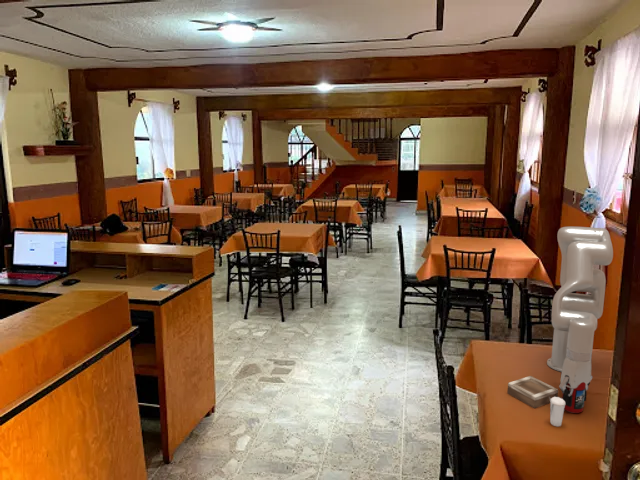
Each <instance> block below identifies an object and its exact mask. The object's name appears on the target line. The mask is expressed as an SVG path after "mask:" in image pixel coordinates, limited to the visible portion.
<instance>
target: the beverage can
mask: <svg viewBox="0 0 640 480" xmlns="http://www.w3.org/2000/svg"><path fill="white" fill-rule="evenodd" d="M567 385H568V386H571V385H570V384H569V383H568V384H567ZM585 387H586V384H585V383H584V382H582V383H581V384H580V385H579V386H578V387H577V388H575V389H574V390H573V392H572V395H571V396H573V398H572V406H571V407H569V406H567V405H565V408H564V411H566V412H569V413H572V414H579V413H582V412H583V411H584V407H585V401H584V397H585ZM567 390H568V391H569V390H570V388H568V387H567ZM561 399H563V394H562V396H561Z"/></svg>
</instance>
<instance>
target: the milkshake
mask: <svg viewBox="0 0 640 480" xmlns="http://www.w3.org/2000/svg"><path fill="white" fill-rule="evenodd" d="M549 398H550V397H549ZM549 408H550V409H549V410H550V413H549V414H550V417H549V419H550V421H549V422H550V424H551V425H552V426H554V427H561V426H562V423H563V417H564V412H565V409H564V408H565V401H564V400H563V399H562V397H560V396H558V397H553V398H551V399H550V403H549Z"/></svg>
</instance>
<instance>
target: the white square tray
mask: <svg viewBox="0 0 640 480" xmlns="http://www.w3.org/2000/svg"><path fill="white" fill-rule="evenodd" d="M507 394H508V395H510V396H511V397H513V398H515V399H516V400H518V401H519V402H522V403H524V404H526V405H527V406H529V407H530V408H532V409H538V408H540V407H542V406H545V405H548V404H550V399H551V398H553V397H559V389H558V388H556V387H554V386H552V385H551V384H548V383H546V382H543V381H542V380H540V379H538V378H535V377H534V376H532V375H529V376H526V377H522V378H519V379H516V380H514V381H510V382H508V384H507ZM549 397H550V398H549Z"/></svg>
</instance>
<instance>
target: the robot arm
mask: <svg viewBox="0 0 640 480" xmlns="http://www.w3.org/2000/svg"><path fill="white" fill-rule="evenodd" d="M609 232H610V231H608V230H607V229H606V228H603V227H587V226H563V227H560V228H559V229H558V231H557V234H556V235H557V236H556V237H557V242H558V246H559V249H560V252H561V265H560V275H559V277H560V278H559V282H560V286H561V287H560V288H559V289H558V290H557V291H556V293H555V294H554V296H553V299H552V302H551V306H552V307H551V325H552V327H553V337H552V338H553V339H552V347H551V357H549V358H548V359H547V361H546V364H547V366H548V367H549V368H551V369H552V370H554V371H557V372H560V373H561V375H560V384H559V385H558V387H559V389H560V391H561V394H562V395H563V400H564V401H565V405H567V406H569V407H571V406H572V398H573V396H571V395H572V392H573V390H574V389H575V388H577V387H578V386H579V385H580V384H581V383H582V382H584V383H585V384H586V387H585V397H584V402H586V401H587V395H588V393H587V392H588V390H589V386H590V384H591V381H592V379H593V377H594V376H593V375H592V355H593V346H594V337H595V336H594V335H595V331H596V330H597V329H598V319H601V317H602V316H603V312H604V303H605V292H606V283H607V280H606V274H605V272H604V271H603V270H601V269H598V268H594V265H595V266H609V265H610V264H611V263H612V262H613V258H614V248H613V243H612V240H611V235H610V233H609ZM575 292H581V293H575ZM582 292H584V294H583V293H582ZM585 293H589V294H585ZM568 383H569V384H570V385H571V386H568V385H567V384H568ZM567 387H568V388H570V390H569V391H568V390H567Z"/></svg>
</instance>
